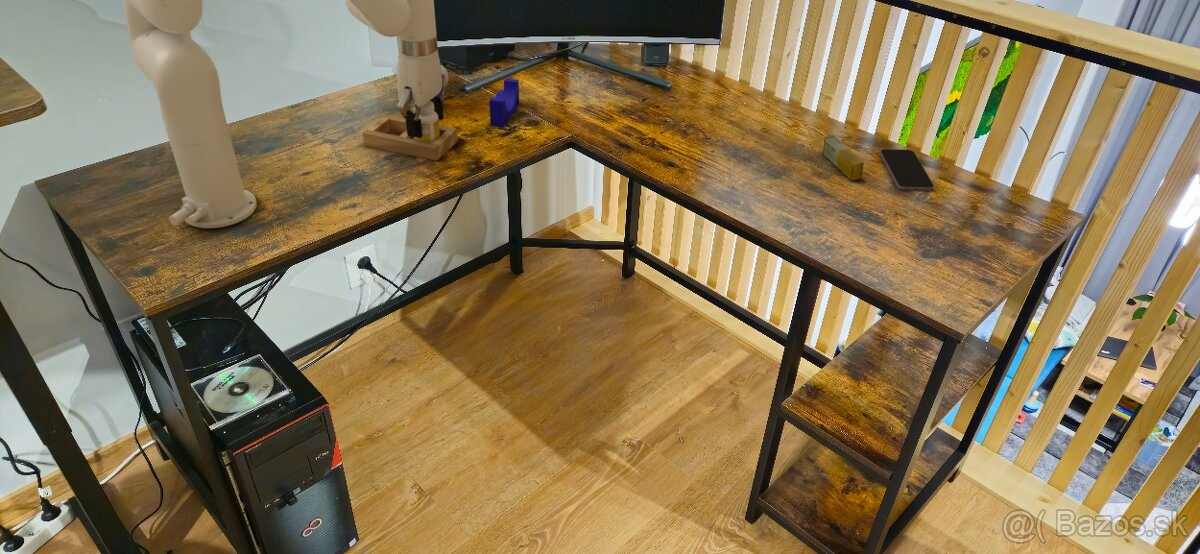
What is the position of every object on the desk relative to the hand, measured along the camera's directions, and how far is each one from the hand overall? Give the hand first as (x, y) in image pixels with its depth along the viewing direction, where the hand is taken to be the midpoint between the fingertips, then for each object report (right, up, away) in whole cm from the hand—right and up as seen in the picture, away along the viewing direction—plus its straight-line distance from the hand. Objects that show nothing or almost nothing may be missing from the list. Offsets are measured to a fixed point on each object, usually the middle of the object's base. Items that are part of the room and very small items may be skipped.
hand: (425, 126), depth 172 cm
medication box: (+85, -8, +2) cm, 85 cm away
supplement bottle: (0, -4, +3) cm, 5 cm away
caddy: (-4, -3, +4) cm, 6 cm away
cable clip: (+14, +6, +16) cm, 22 cm away
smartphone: (+98, -9, +1) cm, 98 cm away
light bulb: (-1, +8, +18) cm, 20 cm away
